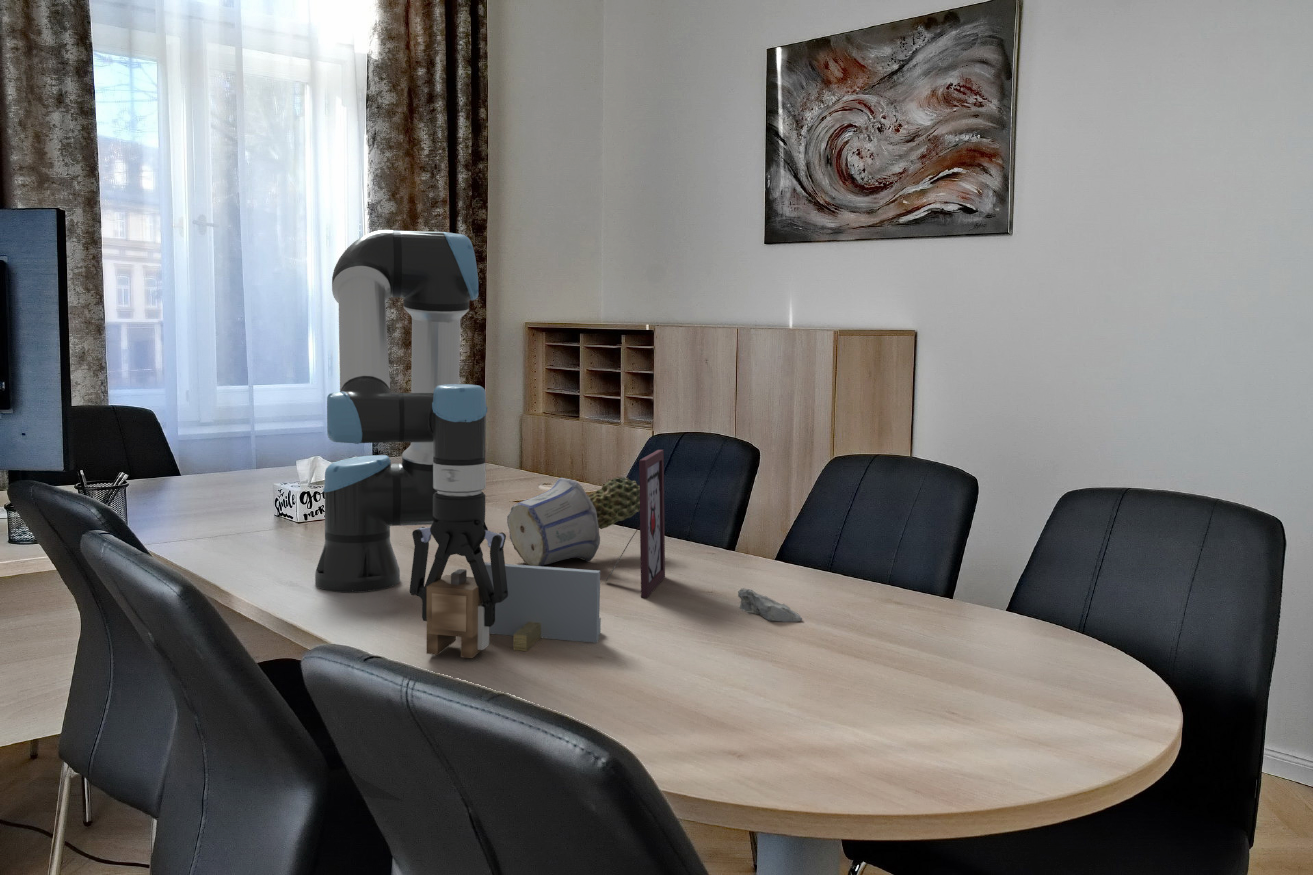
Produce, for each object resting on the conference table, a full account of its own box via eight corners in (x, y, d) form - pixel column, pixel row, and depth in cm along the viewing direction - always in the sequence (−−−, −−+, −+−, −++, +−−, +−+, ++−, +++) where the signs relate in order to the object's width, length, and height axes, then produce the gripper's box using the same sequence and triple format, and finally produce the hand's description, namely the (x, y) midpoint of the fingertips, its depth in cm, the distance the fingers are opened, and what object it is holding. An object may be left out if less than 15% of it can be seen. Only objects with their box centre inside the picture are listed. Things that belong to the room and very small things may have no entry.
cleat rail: (513, 650, 160) (513, 634, 160) (528, 636, 167) (528, 622, 167) (526, 651, 160) (526, 635, 160) (540, 638, 167) (540, 623, 167)
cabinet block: (425, 654, 155) (426, 575, 154) (445, 639, 162) (445, 564, 161) (471, 658, 154) (472, 579, 152) (489, 643, 161) (490, 568, 159)
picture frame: (647, 598, 192) (650, 460, 190) (594, 594, 194) (596, 457, 192) (665, 577, 209) (668, 449, 206) (616, 573, 211) (618, 447, 208)
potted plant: (538, 503, 204) (657, 456, 222) (491, 494, 218) (606, 450, 236) (558, 588, 208) (673, 535, 226) (510, 574, 222) (622, 525, 240)
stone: (765, 606, 191) (765, 583, 190) (806, 621, 180) (806, 597, 180) (734, 610, 188) (734, 587, 187) (773, 626, 177) (774, 602, 177)
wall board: (473, 632, 169) (474, 564, 168) (486, 622, 174) (486, 556, 173) (596, 642, 165) (597, 572, 164) (605, 632, 170) (606, 565, 169)
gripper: (383, 491, 153) (384, 646, 156) (516, 500, 149) (514, 658, 152) (406, 483, 161) (406, 631, 164) (533, 491, 157) (531, 643, 160)
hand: (458, 644), depth 158 cm, fingers closed on cabinet block, 7 cm apart
